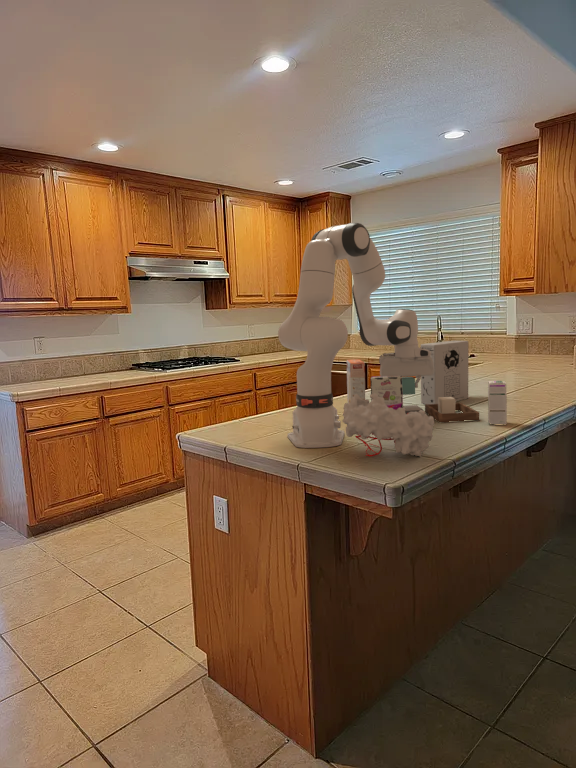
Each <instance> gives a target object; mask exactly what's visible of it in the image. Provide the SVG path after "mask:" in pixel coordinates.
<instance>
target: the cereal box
mask: <svg viewBox="0 0 576 768" xmlns="http://www.w3.org/2000/svg"><path fill="white" fill-rule="evenodd" d="M420 348H423V349H426V350H429V351H431V356H429V357H431V358H432V359H433V364H434V373H433V375H427V376H421V379H420V403H421V404H422V403H423V405H425V404H438V397H453V398H454V399H455V402H458V401H457V400H460V401H463V400H462V399H464V400H467V398H468V399H469V341H468V340H445V341H438V342H429V343H421V344H420Z"/></svg>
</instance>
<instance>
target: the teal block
mask: <svg viewBox="0 0 576 768" xmlns="http://www.w3.org/2000/svg"><path fill="white" fill-rule="evenodd" d="M415 382H416V377H414V376H408V377H402V391H403V396H407V395H416V388H415Z"/></svg>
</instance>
